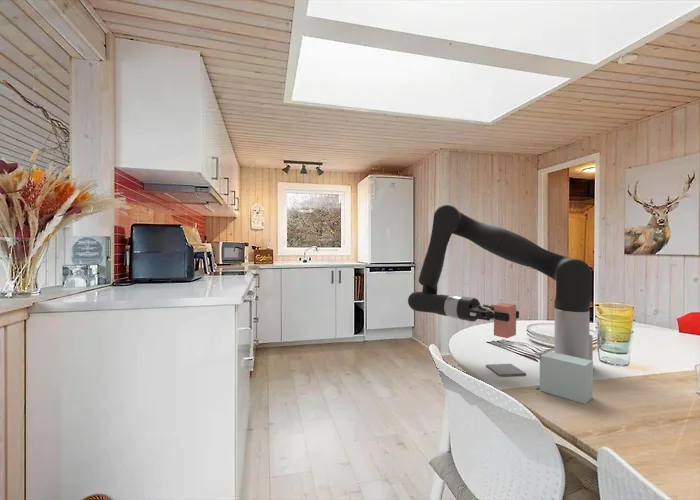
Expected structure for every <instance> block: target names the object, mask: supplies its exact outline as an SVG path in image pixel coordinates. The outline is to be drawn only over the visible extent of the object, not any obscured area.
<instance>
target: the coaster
mask: <svg viewBox="0 0 700 500" xmlns="http://www.w3.org/2000/svg"><path fill="white" fill-rule="evenodd" d="M485 367H486V368H488V369H489V370H490V371H491V372H492V373H494V374H496V375H497V376H498V377H514V376H515V377H516V376H517V377H519V376H523V377H524V376H527V372H525V371H523V370H522V369H520V368H518V367H517V366H515V365H513V364H512V363H493V364H485Z"/></svg>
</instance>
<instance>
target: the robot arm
mask: <svg viewBox="0 0 700 500" xmlns="http://www.w3.org/2000/svg"><path fill="white" fill-rule="evenodd" d="M452 235H455V236H458V237H461V238H464V239H467V240H469V242H473V243H474V244H475V245H477V246H478V247H480V248H482V249H484V250H486V251H487V252H489V253H491V254H493V255H495V256H497V257H500V258H502V259H504V260H506V261H509V262H512V263H513V264H514V263H515V264H518V265H520V266H524V267H529V268H531V269H533V270H536V271H538V272H540V273H542V274H544V275H545V276H547V277H549V278H551V279H552V280H554V281H556V285H555V298H554V346H553V349H554V351H553V352H555V353H559V354H564V355H569V356H573V357H578V358H583V359H587V360H592V361H593V357H594V356H593V348H594V347H593V346H594V345H593V343H594V342H593V335H592V334H590V321H591V320H590V309H591V306H590V305H591V303H592V297H593V295H592V290H593V289H592V288H593V273H592V269H591V268H590V265H588V263H586V262H585V261H584V260H582V259H578V258H571V257H569V256H564V255H561V254H559V253H555V252H553V251H550V250H548V249H545V248H543V247H541V246H540V245H538V244H536V243H535V242H533V241H532V240H531V239H528V238H526V237H524V236H522V235H521V234H518V233H516V232H513V231H512V230H509V229H506V228H504V227H501V226H497V225H493V224H490V223H485V222H483V221H482V222H481V221H479V220H476V219H473V218H472V217H470V216H468V215H466V214H465V213H463V212H461V211H459V210H458V208H456V207H455V206H453V205H451V204H443V205H441V206H439V207H438V208H436V210H435V211H434V214H433V220H432V229H431V235H430V239H429V242H428V243H429V245H428V247H427V250H426V251H427V252H426V254H425V256H424V257H425V258H424V260H423V263H422V267H421V269H420V272H419V276H418V283H419V284H420V285H421V286H422V291H413V292H412V293H410V294H409V296H408V297H407V303H408V306H409V307H410V308H411V310H413V311H415V312H419V313H422V312H423V313H429V314H430V313H431V314H437V315H440V316H444V317H450V318H452V319H457V320H461V321H466V322H471V323H473V322H476V321H477V320H483V321H487V322H490V321H494V320H501V321H509V320H510V315H509V314H508V313H501V312H496V311H494V305H495V304H490V305H489V304H485V303H484V304H482V305H481V303H480V301H479V300H478V299H477V298H475V297H468V296H463V295H462V296H460V295H450V294H449V295H448V294H438V284H439V281H440V278H441V275H442V272H443V269H444V263H445V258H446V257H445V256H446V253H447V248H448V245H449V242H450V239H451V237H452ZM519 318H520V311H519V310H516V320H517V319H519ZM593 362H594V361H593Z"/></svg>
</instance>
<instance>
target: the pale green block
mask: <svg viewBox="0 0 700 500" xmlns="http://www.w3.org/2000/svg"><path fill="white" fill-rule="evenodd" d="M538 358H539V385H538V386H537V387H536V388H535V390H538V391H541V392H543V393H547V394H550V395H554V396H557V397H561V398H564V399H568V400H570V401H573V402H577V403H580V404H584V405H587V404H588V403H589V402H590V400H592V399H593V398H594V390H593V389H594V388H593V387H594V385H593V384H594V380H593V379H594V375H593V374H594V361H592V360H587V359H583V358H578V357H573V356H569V355H564V354H559V353H555V352H554V351H550V350H547V351H545V352H543V353H541V354H539V357H538Z"/></svg>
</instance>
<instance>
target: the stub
mask: <svg viewBox="0 0 700 500" xmlns="http://www.w3.org/2000/svg"><path fill="white" fill-rule="evenodd" d="M493 305H494V311H496V312H501V313H508V314H509V315H510V320H509V321H501V320H493V336H496V337H500V338H505V339H509V338H511V337H515V336H517V319H516V311H517V304H511V303H504V302H502V303H498V304H493Z"/></svg>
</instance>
